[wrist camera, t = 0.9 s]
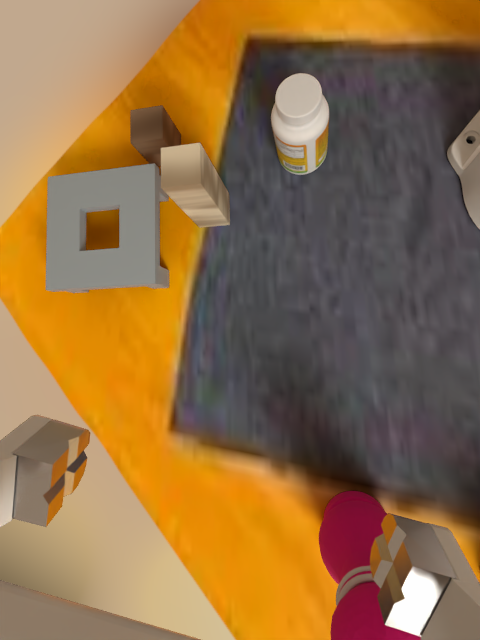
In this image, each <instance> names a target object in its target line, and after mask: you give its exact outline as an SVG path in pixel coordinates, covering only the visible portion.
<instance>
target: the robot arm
mask: <svg viewBox="0 0 480 640" xmlns="http://www.w3.org/2000/svg"><path fill="white" fill-rule="evenodd" d="M466 140H471V141H472V142H473V144H468V143H467V142H466ZM447 157H448V160H449V162H450V164H451V165H452V167H453V168H454V170H455V171H456V173H457V174H458V176H459V177H460V180H461V184H462V191H463V198H464V202H465V205H466V208H467V211H468V213H469V215H470V217H471V219H472V220H473V222H474V223H475V224H476V226H477V227H478V228H479V229H480V110H479V111H478V113H477V114H476V115H475V116H474V117H473V119H472V120H471V121H470V122H469V123H468V125H467V126H466V127H465V128H464V130H463V131H462V132H461V133H460V134H459V136H458V137H457V138H456V139H455V140H454V142H453V143H452V144H451V145H450V147H449V148H448V151H447ZM89 440H90V432H89V430H87V429H84V428H80V427H77V426H74V425H70V424H67V423H64V422H61V421H57V420H53V419H50V418H47V417H43V416H39V415H34V416H31V417H30V418H28V419H27V420H26V421H25V422H23V423H22V424H21V425H19V426H18V427H17V428H16V429H14V430H13V431H12V432H10V433H9V434H8V435H7V436H5V437H4V438H3V439H2V440H0V527H1V526H2V525H4V524H6V523H8V522H10V521H11V520H12V518H13V519H17V520H21V521H25V522H29V523H33V524H37V525H40V526H45V527H46V526H47V525H48V524H49V523H50V521H51V520H52V518H53V517H54V516H55V515H56V514H57V512H58V511H59V510H60V508H61V507H62V502H63V497H65V496H67V495H70V494H72V493H73V491H74V490H75V489H76V487H77V486H78V484H79V482H80V480H81V478H82V476H83V474H84V471H85V467H86V462H87V456H86V454H85V452H84V449H85V448H86V447H87V446H88V444H89ZM381 526H382V530H383V534H382V535H380V536H378V537H376V538H375V540H374V543H373V545H372V548H371V555H370V568H371V573H372V578H373V580H374V581H375V582H376V584H377V585H378V586H379V587H380V592H379V594H378V596H377V598H378V601H379V605H380V609H381V613H382V617H383V621H384V625H386V626H390V627H393V628H396V629H399V630H402V631H405V632H408V633H411V634H414V635H417V636H421V638H420V639H421V640H480V584H479V582H478V580H477V578H476V576H475V574H474V573H473V571H472V569H471V567H470V565H469V563H468V562H467V560H466V558H465V556H464V554H463V552H462V550H461V549H460V547H459V545H458V543H457V541H456V539H455V538H454V536H453V534H452V532H451V531H450V530H449V529H447V528H445V527H441V526H437V525H433V524H429V523H423V522H419V521H415V520H412V519H408V518H404V517H401V516H397V515H393V514H390V513H388V514H387V515H386V516H385V517H384V519H383V522H382V524H381ZM0 640H200V639H197V638H193V637H190V636H187V635H183V634H180V633H177V632H173V631H170V630H166V629H163V628H160V627H156V626H153V625H150V624H146V623H143V622H139V621H136V620H132V619H129V618H126V617H123V616H119V615H116V614H112V613H109V612H106V611H102V610H99V609H96V608H92V607H89V606H86V605H82V604H79V603H75V602H72V601H68V600H66V599H62V598H59V597H55V596H52V595H49V594H45V593H42V592H39V591H35V590H32V589H28V588H25V587H21V586H18V585H15V584H11V583H8V582H5V581H2V580H0Z"/></svg>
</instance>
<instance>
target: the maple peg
mask: <svg viewBox="0 0 480 640" xmlns="http://www.w3.org/2000/svg"><path fill="white" fill-rule="evenodd" d="M161 188H162V189H163V190H164V191H165V192H166V193H167V194H168V195H169V197H170V198H171V199H172V200H173V201H174V202H175V203H176V204H177V205H178V206H179V207H180V208H181V209H182V210H183V211H184V212H185V213H186V214H187V215H188V216H189V217H190V218H191V219H192V220H193V221H194V222H195V223H196V224H197V225H198V226H199V227H210V226H222V225H230V204H229V193H228V191H227V189H226V187H225V186H224V184H223V182H222V180H221V179H220V177H219V175H218V173H217V171H216V170H215V168H214V166H213V164H212V163H211V161H210V159H209V157H208V156H207V154H206V152H205V150H204V149H203V147H202V145H201V143H194V144H187V145H179V146H172V147H165V148H161Z"/></svg>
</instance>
